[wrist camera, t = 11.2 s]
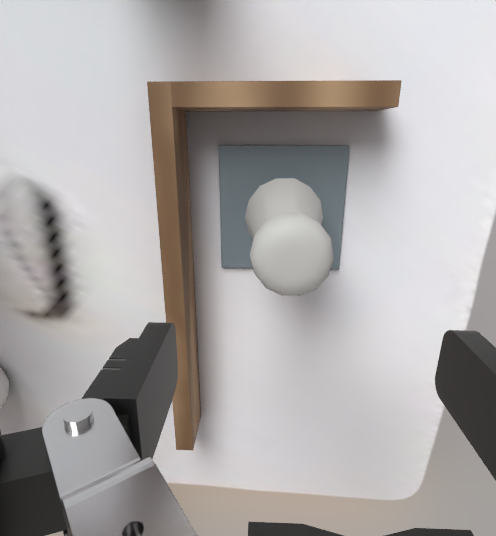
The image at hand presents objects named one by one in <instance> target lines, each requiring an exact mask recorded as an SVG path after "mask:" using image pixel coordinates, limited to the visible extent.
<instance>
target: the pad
mask: <svg viewBox="0 0 496 536" xmlns="http://www.w3.org/2000/svg"><path fill="white" fill-rule="evenodd" d="M348 155H349V146H259V145H219V177H220V218H221V260H222V267H226V268H253V266H252V262H251V258H250V251H251V247H252V243H253V238H252V237H251V236H250V234H249V232H248V228H247V224H246V219H245V214H246V210H247V206H248V202H249V199H250V198H251V197H252V195H253V194H254V193H255V192H256V190H257V189H258V188H259V186H261V185H263V184H265V183H267V182H270V181H272V180H274V179H276V178H295V179H297V180H299V181H300V182H302V183H304V184H306V185H308V186H310V187H311V189H312V190H313V191H314V193H315V194H316V195H317V197H318V198H319V199H320V200H321V207H322V214H323V220H322V223H321V226H322V227H323V228H324V230H325V231H326V232H327V234H328V235H329V236H330V238H331V243H332V250H333V262H332V265H331V268H330V269H339V261H340V249H341V237H342V226H343V214H344V202H345V190H346V178H347V167H348Z"/></svg>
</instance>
